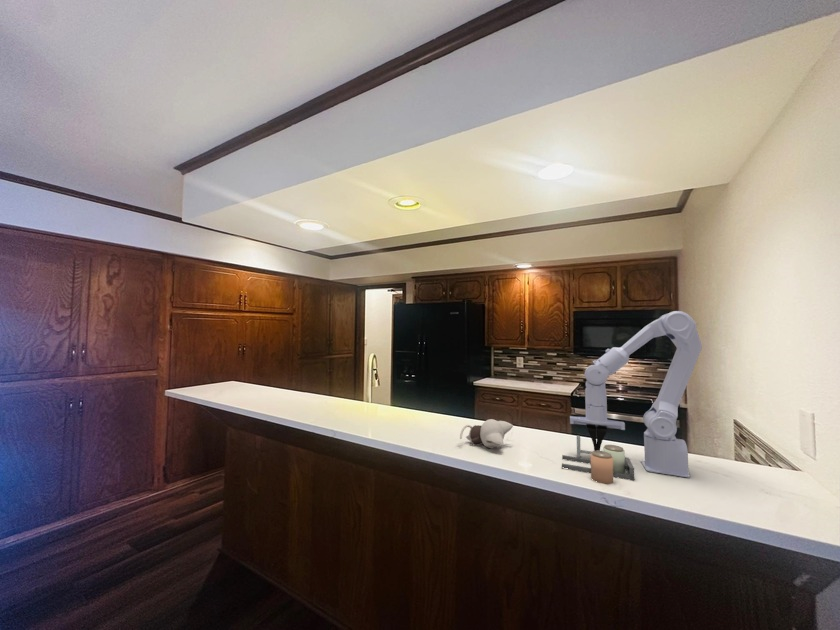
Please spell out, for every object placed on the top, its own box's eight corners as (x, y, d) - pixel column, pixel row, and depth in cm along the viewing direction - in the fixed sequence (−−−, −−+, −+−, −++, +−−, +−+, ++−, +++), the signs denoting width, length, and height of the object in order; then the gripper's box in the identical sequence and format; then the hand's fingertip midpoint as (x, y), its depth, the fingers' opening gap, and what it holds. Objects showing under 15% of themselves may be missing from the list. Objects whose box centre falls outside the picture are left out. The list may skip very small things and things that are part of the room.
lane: (629, 468, 91) (628, 457, 91) (634, 480, 83) (634, 468, 83) (562, 458, 98) (562, 448, 98) (561, 468, 90) (561, 457, 90)
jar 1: (612, 477, 84) (611, 452, 85) (614, 485, 80) (614, 458, 80) (590, 474, 86) (590, 449, 87) (591, 481, 82) (591, 454, 82)
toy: (463, 459, 107) (504, 459, 98) (453, 435, 107) (494, 433, 98) (478, 435, 118) (517, 434, 109) (469, 413, 117) (507, 410, 108)
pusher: (599, 458, 98) (598, 438, 98) (603, 472, 87) (602, 450, 87) (576, 454, 101) (576, 435, 101) (577, 468, 89) (577, 446, 90)
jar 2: (623, 470, 90) (623, 446, 90) (626, 477, 85) (625, 451, 86) (602, 466, 92) (602, 443, 92) (604, 473, 87) (604, 448, 88)
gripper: (622, 405, 99) (623, 450, 98) (569, 400, 105) (570, 443, 104) (625, 409, 93) (626, 458, 92) (569, 404, 99) (570, 450, 98)
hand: (596, 450), depth 98 cm, fingers closed
